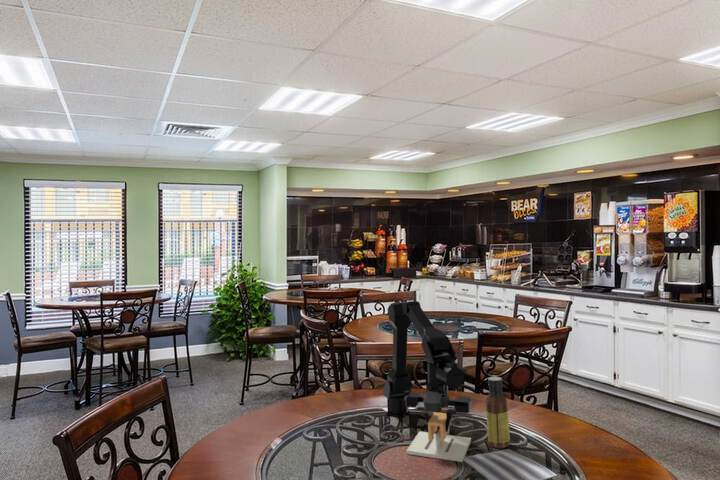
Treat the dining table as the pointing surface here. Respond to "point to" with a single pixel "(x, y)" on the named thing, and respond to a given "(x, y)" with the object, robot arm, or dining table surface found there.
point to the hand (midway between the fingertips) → (439, 430)
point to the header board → (440, 446)
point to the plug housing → (435, 421)
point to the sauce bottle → (497, 415)
